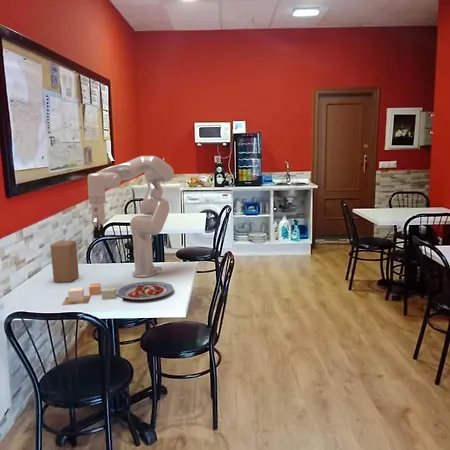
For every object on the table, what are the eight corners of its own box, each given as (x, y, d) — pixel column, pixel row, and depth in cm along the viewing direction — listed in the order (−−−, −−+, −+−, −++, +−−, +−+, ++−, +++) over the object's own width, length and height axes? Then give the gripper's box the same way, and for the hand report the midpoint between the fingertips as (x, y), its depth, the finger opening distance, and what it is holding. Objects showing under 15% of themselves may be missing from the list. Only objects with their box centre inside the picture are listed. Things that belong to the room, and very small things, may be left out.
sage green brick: (116, 297, 218) (116, 287, 217) (116, 301, 214) (115, 290, 213) (103, 298, 217) (102, 288, 216) (102, 302, 213) (101, 291, 212)
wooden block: (79, 277, 253) (76, 240, 250) (71, 282, 244) (68, 244, 240) (61, 277, 254) (58, 240, 251) (53, 282, 245) (49, 244, 241)
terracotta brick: (91, 293, 225) (90, 283, 224) (101, 293, 226) (100, 282, 225) (89, 297, 219) (89, 287, 218) (99, 297, 220) (99, 286, 219)
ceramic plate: (129, 285, 237) (129, 279, 237) (179, 286, 233) (179, 280, 232) (108, 302, 212) (107, 296, 212) (164, 304, 208) (163, 297, 207)
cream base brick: (84, 298, 215) (83, 287, 214) (83, 301, 211) (82, 290, 210) (70, 299, 214) (69, 288, 213) (69, 302, 210) (68, 291, 209)
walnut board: (91, 297, 219) (91, 295, 218) (88, 305, 208) (88, 303, 208) (66, 299, 217) (66, 297, 217) (62, 307, 206) (61, 305, 206)
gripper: (102, 201, 214) (104, 239, 217) (107, 198, 231) (109, 233, 234) (85, 202, 213) (87, 239, 216) (92, 198, 230) (93, 233, 233)
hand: (98, 236), depth 225 cm, fingers open, 9 cm apart
